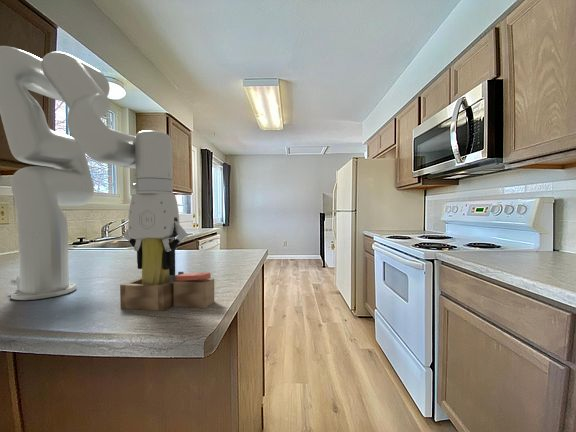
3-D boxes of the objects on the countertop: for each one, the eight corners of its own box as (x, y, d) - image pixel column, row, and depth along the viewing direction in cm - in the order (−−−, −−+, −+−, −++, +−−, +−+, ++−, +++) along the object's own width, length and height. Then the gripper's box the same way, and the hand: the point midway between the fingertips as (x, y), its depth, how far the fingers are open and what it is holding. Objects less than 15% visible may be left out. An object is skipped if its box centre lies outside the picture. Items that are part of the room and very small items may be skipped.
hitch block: (120, 308, 62) (120, 277, 62) (150, 294, 72) (149, 268, 71) (199, 312, 59) (199, 280, 59) (219, 298, 69) (219, 270, 68)
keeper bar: (170, 281, 63) (170, 276, 63) (178, 278, 66) (177, 273, 66) (207, 279, 62) (206, 275, 62) (212, 276, 65) (212, 272, 65)
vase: (134, 290, 63) (133, 225, 63) (153, 283, 69) (151, 223, 69) (159, 291, 62) (158, 225, 62) (176, 284, 68) (175, 223, 68)
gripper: (107, 187, 63) (109, 270, 63) (181, 185, 60) (182, 272, 60) (132, 189, 70) (133, 264, 71) (198, 188, 67) (199, 265, 68)
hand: (156, 267), depth 66 cm, fingers closed on vase, 5 cm apart
